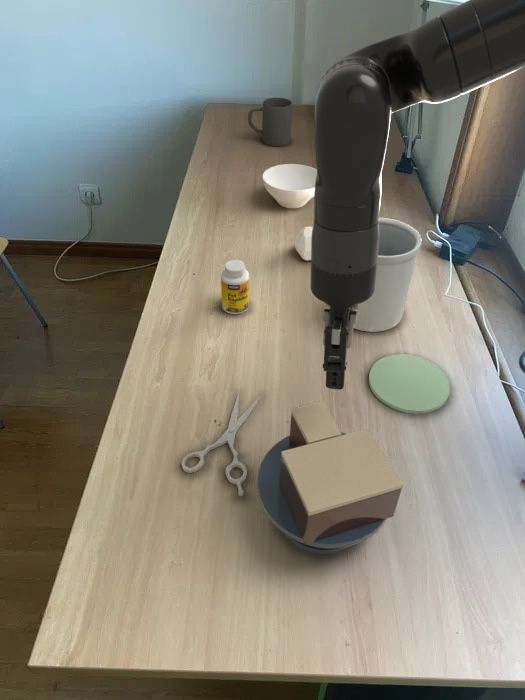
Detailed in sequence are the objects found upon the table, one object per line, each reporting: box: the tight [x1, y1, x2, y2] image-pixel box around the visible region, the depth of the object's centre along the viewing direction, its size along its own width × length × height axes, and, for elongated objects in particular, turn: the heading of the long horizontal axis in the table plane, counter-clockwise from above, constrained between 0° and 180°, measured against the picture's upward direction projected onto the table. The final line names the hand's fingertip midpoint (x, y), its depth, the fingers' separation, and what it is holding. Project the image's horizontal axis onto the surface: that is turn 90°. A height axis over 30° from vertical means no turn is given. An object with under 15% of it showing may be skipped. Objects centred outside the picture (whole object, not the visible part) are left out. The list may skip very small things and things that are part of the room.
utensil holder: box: [354, 217, 423, 333], centre depth 109 cm, size 15×15×18 cm
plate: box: [368, 353, 451, 415], centre depth 99 cm, size 14×14×1 cm
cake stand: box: [257, 428, 404, 555], centre depth 75 cm, size 18×18×15 cm
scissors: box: [181, 391, 262, 497], centre depth 89 cm, size 11×1×20 cm
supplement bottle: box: [220, 259, 250, 315], centre depth 112 cm, size 6×6×10 cm
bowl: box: [261, 163, 317, 209], centre depth 147 cm, size 16×16×7 cm
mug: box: [247, 97, 293, 147], centre depth 176 cm, size 14×9×12 cm
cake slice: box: [289, 400, 342, 449], centre depth 75 cm, size 4×6×7 cm
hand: (338, 366), depth 74 cm, fingers open, 8 cm apart
